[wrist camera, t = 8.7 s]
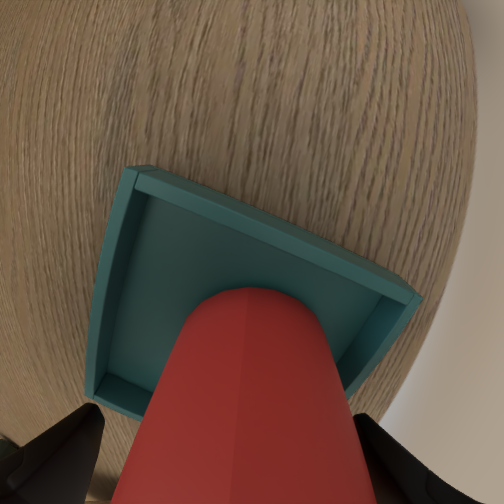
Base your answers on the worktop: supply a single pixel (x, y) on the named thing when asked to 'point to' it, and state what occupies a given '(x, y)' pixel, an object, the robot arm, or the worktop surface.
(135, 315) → the tray
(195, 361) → the beer can
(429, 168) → the worktop surface
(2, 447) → the potion bottle
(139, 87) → the worktop surface
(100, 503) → the bowl
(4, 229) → the worktop surface
